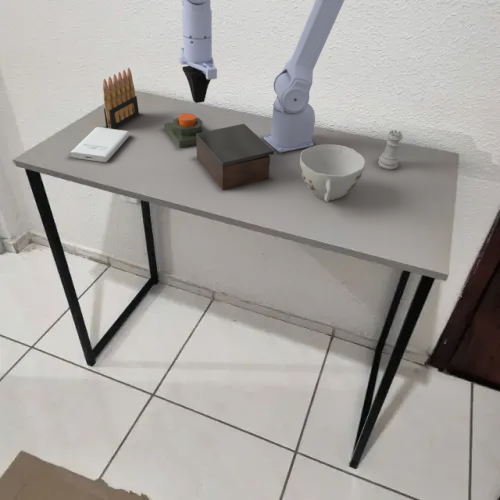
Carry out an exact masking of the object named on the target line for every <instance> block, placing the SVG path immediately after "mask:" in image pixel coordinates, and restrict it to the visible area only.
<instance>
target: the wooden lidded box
mask: <svg viewBox="0 0 500 500" xmlns="http://www.w3.org/2000/svg"><path fill="white" fill-rule="evenodd" d="M196 142H197V145H196V160H197V161H198V162H199V164H200V165H201V166H202V167H203V168H204V170H205V171H206V172H207V173H208V175H210V177H211V178H212V179H213V180H214V182H215V183H216V184H217V185H218V187H219V188H220V189H221V190H222V191H224V190H228V189H233V188H237V187H241V186H246V185H250V184H254V183H258V182H262V181H266V180H269V176H270V164H271V155H269V156H265V157H260V158H256V159H252V160H248V161H244V162H240V163H235V164H231V165H227V166H222V165H221V164H220V163H219V162H218V161H217V159H216V158H215V157H214V156H213V155H212V154H211V153H210V152H209V151H208V149H207V148H206V147H205V146H204V145H203V144H202V143H201V142H200V140H199V139H198V138H197V137H196Z"/></svg>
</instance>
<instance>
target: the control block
mask: <svg viewBox="0 0 500 500" xmlns="http://www.w3.org/2000/svg"><path fill="white" fill-rule="evenodd" d="M164 131H165V132H166V133H167V134H168V135H169V137H170V138H171V139H172V140H173V142H174V143H175V145H176V146H177V147H178V148H179V149H181V148H187V147H192V146H197V142H196V134H197V133H201V132H206V131H208V130H207V129H206V128H205V126H204V122H203V120H202V119H201V118H200V117H197V116H196V125H194V126H190V127H186V126H181V125H179V116H178V117H176V118H174V119H173V120H172V122H165V123H164Z"/></svg>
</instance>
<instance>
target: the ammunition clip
mask: <svg viewBox="0 0 500 500" xmlns="http://www.w3.org/2000/svg"><path fill="white" fill-rule="evenodd" d="M132 74H133V73H132V70H131V69H130V67H128V68H127V72H126V69H123V70H122V73H121V72H120V71H118V74H117V75H116V73H114V74H113V76H112V78H111V76H108V78H107V80H108V81H107V80H106V79H105V78H103V80H102V89H103V103H104V108H103V114H104V120H105V128H109V129H116V130H117V129H118V128H120V127H121V126H123V125H125V124H127V123H128V122H130V121H131V120H133V119H135V118H136V117H138V116H140V110H139V106H138V105H139V103H138V96H137V95H136V91H135V84H134V80H133V75H132Z"/></svg>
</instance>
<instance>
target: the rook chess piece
mask: <svg viewBox="0 0 500 500" xmlns="http://www.w3.org/2000/svg"><path fill="white" fill-rule="evenodd" d="M386 135H387V140H386V145H385V149H384V151H383V152H382V154H381V155H379V157H378V160H377V165H378V166H379V167H380V168H382V169H383V170H389V171H391V170H394V169H397V167H398V166H399V157H398V149H399V146H400V144H401V143H400V141H401V140H402V139H403V133H402V131H400V130H398V129H391V130H389V133H387V134H386Z"/></svg>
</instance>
